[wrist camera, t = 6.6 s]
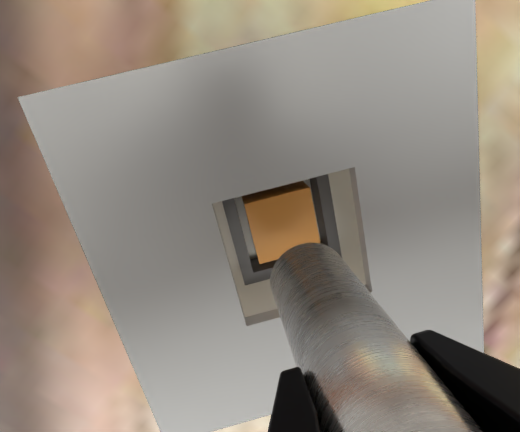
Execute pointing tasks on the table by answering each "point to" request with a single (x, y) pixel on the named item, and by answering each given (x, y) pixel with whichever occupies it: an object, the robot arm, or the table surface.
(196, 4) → the table surface
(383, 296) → the grey square-hole box
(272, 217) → the button
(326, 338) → the shiny metal cylinder
